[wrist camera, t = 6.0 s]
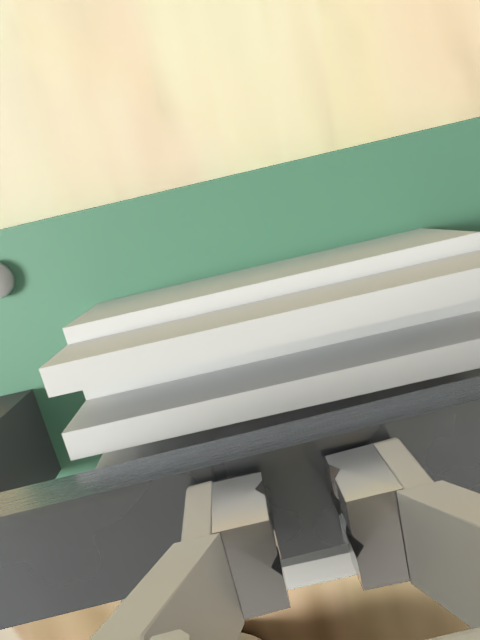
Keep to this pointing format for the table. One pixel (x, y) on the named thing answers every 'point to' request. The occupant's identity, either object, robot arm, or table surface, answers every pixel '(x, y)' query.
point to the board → (240, 308)
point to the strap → (207, 465)
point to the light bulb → (247, 637)
